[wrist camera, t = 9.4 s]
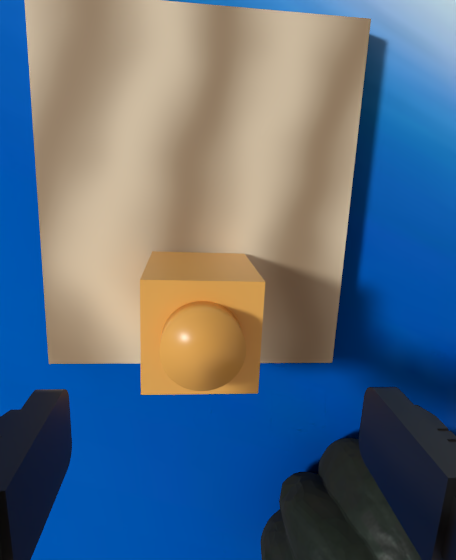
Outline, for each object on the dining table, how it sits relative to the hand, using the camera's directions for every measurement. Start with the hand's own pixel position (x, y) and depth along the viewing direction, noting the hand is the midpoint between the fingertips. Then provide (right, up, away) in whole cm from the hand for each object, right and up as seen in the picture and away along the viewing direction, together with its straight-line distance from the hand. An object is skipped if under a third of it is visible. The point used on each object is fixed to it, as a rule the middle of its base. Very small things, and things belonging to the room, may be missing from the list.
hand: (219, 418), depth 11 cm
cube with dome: (-1, +3, +11) cm, 12 cm away
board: (-1, +8, +12) cm, 14 cm away
